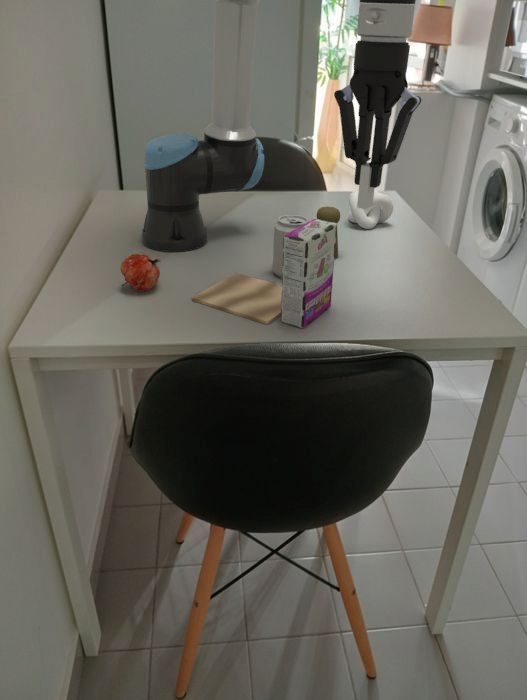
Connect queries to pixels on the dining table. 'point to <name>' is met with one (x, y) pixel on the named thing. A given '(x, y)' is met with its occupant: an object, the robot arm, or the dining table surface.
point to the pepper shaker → (330, 220)
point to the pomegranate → (140, 271)
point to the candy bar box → (307, 272)
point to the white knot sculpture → (370, 210)
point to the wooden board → (244, 298)
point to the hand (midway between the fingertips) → (364, 206)
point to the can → (281, 229)
